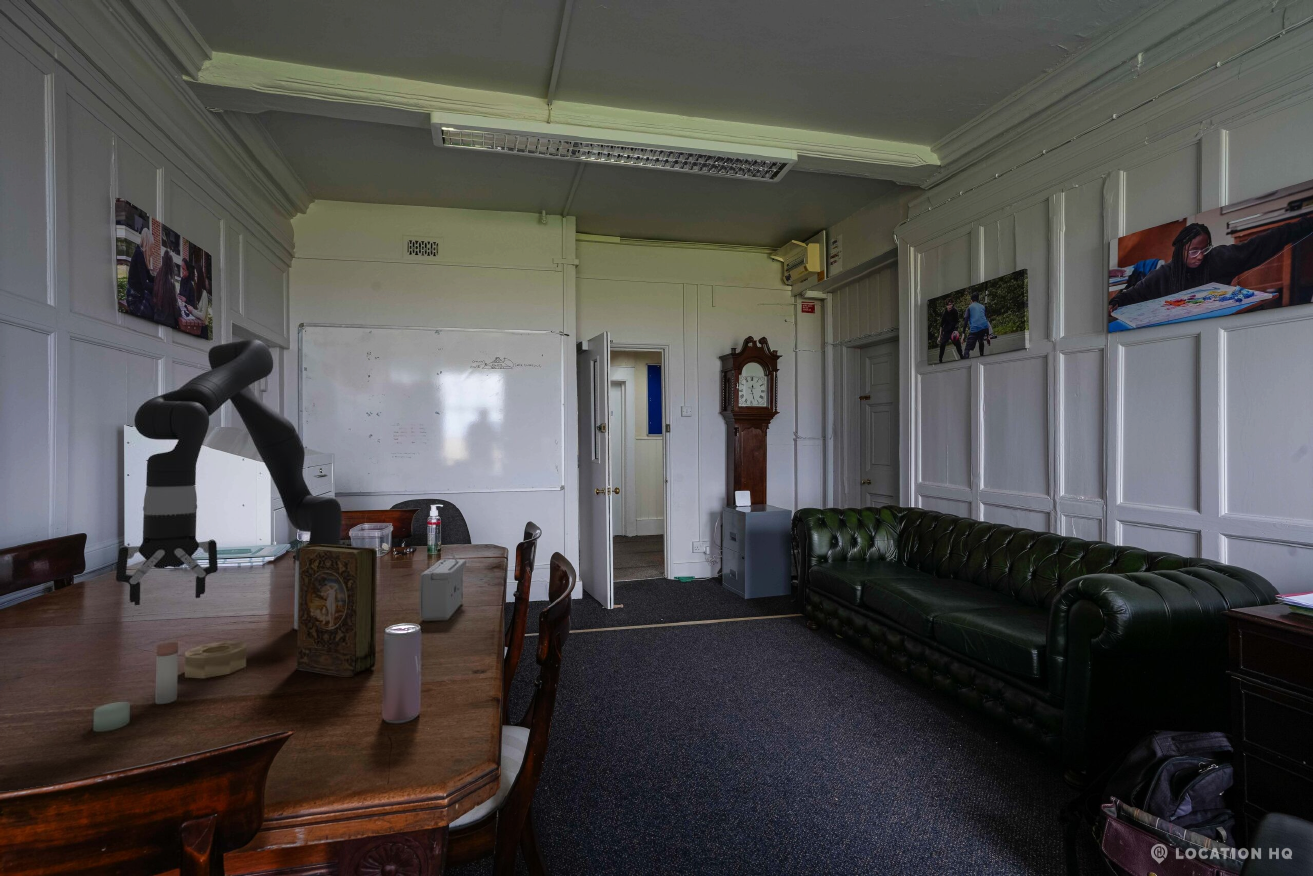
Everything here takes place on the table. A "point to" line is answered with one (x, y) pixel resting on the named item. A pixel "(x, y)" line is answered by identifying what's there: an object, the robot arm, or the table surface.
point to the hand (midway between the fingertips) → (168, 600)
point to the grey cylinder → (166, 672)
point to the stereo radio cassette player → (441, 589)
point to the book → (337, 609)
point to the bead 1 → (111, 716)
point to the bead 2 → (215, 659)
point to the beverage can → (401, 673)
